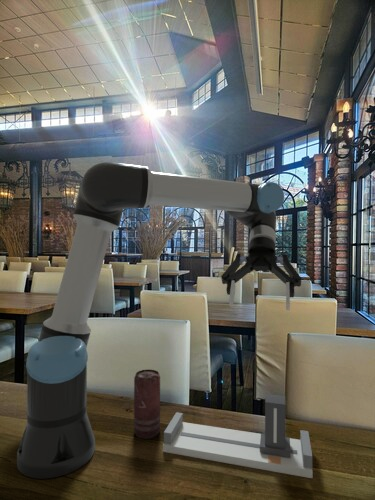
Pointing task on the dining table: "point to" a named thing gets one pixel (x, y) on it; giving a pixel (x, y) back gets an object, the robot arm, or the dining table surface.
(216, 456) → the fader base
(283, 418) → the fader knob
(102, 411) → the dining table surface
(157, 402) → the can
